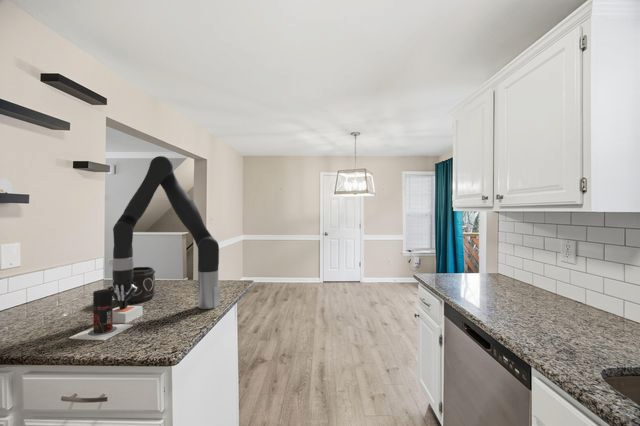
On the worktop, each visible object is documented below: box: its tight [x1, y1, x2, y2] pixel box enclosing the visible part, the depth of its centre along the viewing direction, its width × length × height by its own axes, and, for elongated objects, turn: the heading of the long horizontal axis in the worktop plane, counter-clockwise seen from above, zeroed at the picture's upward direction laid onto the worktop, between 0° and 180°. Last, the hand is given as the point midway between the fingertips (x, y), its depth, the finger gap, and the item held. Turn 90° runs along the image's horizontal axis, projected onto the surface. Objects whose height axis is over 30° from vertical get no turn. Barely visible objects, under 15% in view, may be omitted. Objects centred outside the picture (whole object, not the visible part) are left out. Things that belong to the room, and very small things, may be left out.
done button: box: [113, 307, 134, 312], centre depth 130 cm, size 5×5×3 cm
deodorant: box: [92, 288, 114, 334], centre depth 116 cm, size 6×6×15 cm
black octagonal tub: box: [115, 266, 156, 305], centre depth 158 cm, size 18×18×16 cm
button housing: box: [113, 305, 144, 324], centre depth 130 cm, size 10×10×4 cm
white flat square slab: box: [68, 323, 134, 341], centre depth 116 cm, size 14×14×1 cm
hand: (123, 308), depth 130 cm, fingers closed
